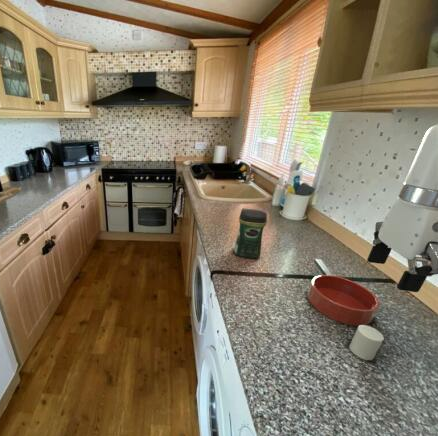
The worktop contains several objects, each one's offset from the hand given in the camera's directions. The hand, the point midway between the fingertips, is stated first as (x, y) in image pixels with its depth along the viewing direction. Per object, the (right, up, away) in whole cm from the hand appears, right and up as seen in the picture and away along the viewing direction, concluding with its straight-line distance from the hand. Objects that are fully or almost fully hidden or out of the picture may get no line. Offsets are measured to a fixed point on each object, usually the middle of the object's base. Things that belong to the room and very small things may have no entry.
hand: (389, 275), depth 50 cm
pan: (+5, -13, +20) cm, 24 cm away
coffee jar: (-11, -2, +46) cm, 47 cm away
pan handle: (+8, -5, +30) cm, 31 cm away
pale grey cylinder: (-1, -19, +6) cm, 20 cm away
